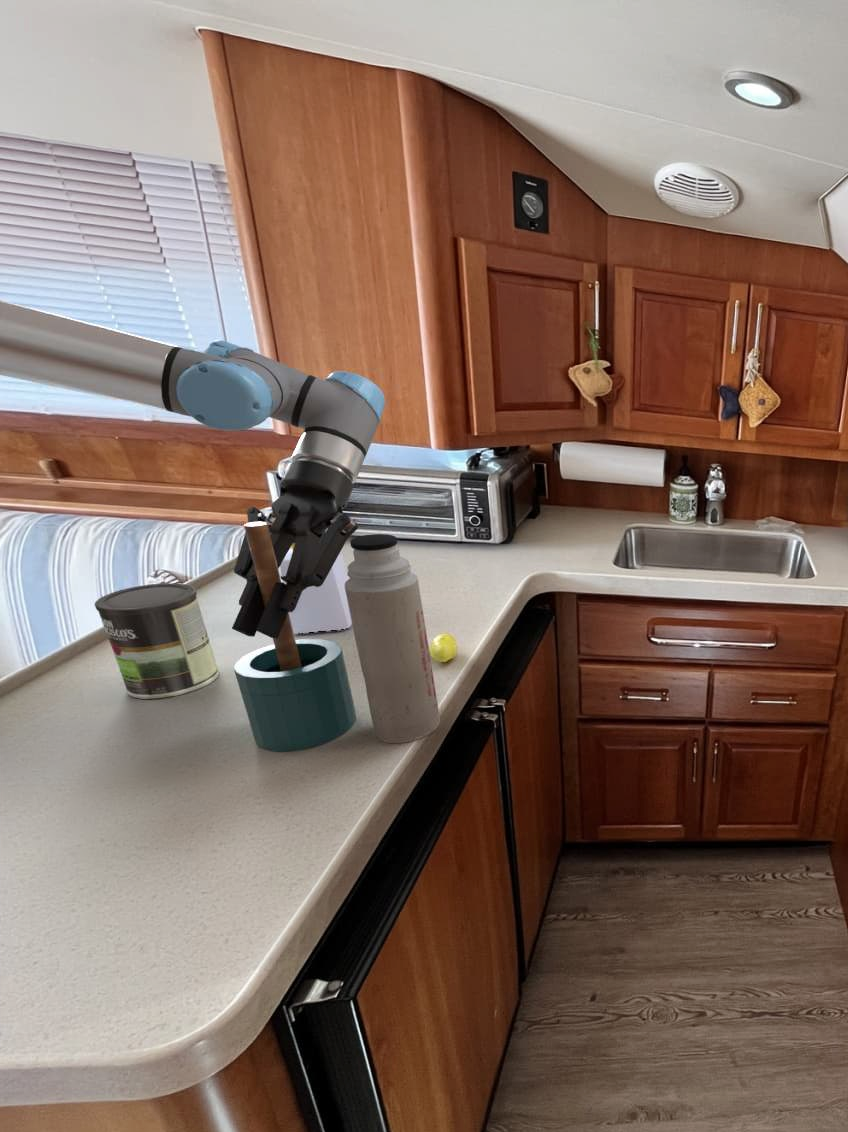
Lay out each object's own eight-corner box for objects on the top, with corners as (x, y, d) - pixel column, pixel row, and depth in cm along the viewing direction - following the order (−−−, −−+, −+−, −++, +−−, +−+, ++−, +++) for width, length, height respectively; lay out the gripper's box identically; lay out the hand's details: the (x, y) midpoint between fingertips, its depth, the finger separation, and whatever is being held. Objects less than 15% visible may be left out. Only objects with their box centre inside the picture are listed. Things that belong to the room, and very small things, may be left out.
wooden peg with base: (278, 719, 84) (228, 530, 74) (283, 703, 87) (235, 520, 77) (319, 712, 86) (275, 527, 76) (322, 696, 89) (281, 518, 80)
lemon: (460, 646, 113) (458, 626, 111) (456, 667, 106) (453, 646, 105) (433, 648, 111) (430, 628, 110) (428, 670, 104) (424, 649, 103)
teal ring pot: (247, 760, 81) (225, 684, 77) (262, 715, 89) (243, 646, 85) (353, 739, 86) (338, 668, 82) (358, 699, 95) (344, 633, 91)
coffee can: (153, 706, 89) (120, 615, 84) (110, 688, 93) (77, 599, 87) (236, 675, 98) (212, 591, 93) (195, 659, 102) (169, 578, 96)
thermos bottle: (445, 709, 94) (417, 528, 84) (433, 740, 87) (401, 547, 77) (384, 714, 92) (348, 529, 82) (366, 746, 85) (324, 548, 75)
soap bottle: (279, 648, 107) (246, 521, 99) (300, 616, 119) (272, 500, 110) (347, 642, 111) (321, 519, 103) (360, 611, 123) (338, 499, 114)
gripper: (393, 493, 91) (336, 647, 82) (285, 484, 90) (216, 639, 81) (363, 462, 84) (297, 627, 75) (246, 452, 84) (165, 617, 74)
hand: (255, 633), depth 78 cm, fingers closed on wooden peg with base, 2 cm apart
